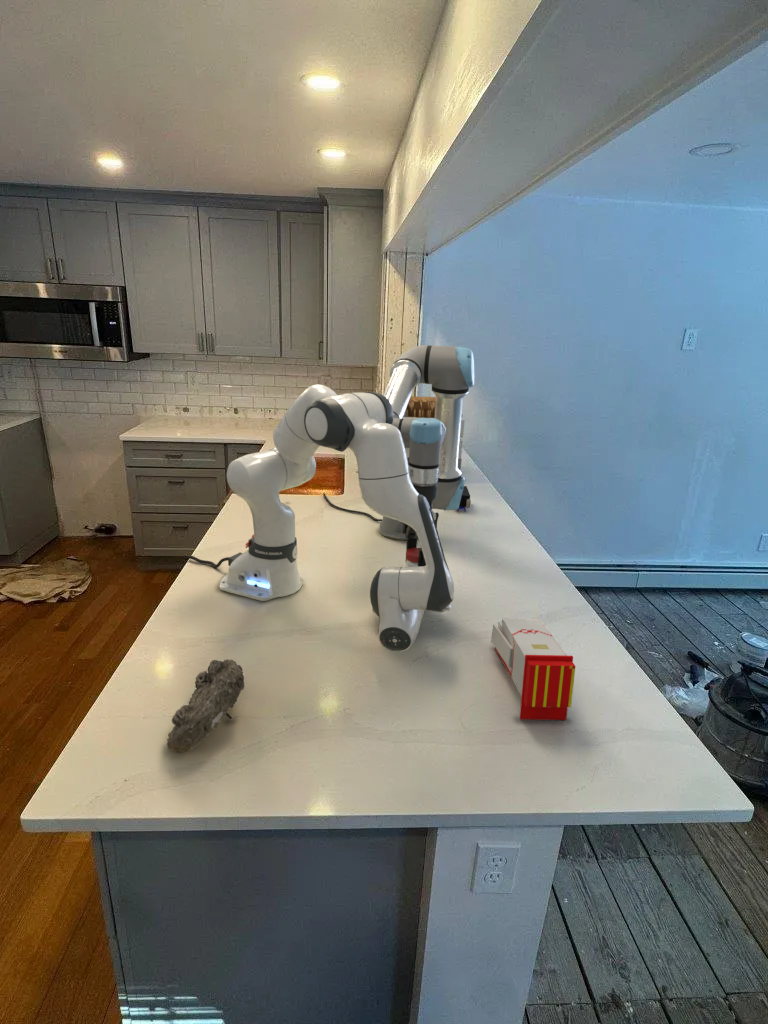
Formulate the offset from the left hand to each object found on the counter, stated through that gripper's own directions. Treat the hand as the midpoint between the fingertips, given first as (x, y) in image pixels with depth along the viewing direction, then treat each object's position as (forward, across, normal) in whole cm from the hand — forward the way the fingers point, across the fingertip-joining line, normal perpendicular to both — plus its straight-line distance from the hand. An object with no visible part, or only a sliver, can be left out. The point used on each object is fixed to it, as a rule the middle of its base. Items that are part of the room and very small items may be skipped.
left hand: (415, 581), depth 151 cm
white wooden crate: (+129, +18, +7) cm, 130 cm away
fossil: (-55, +30, +7) cm, 63 cm away
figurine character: (+84, -5, +7) cm, 84 cm away
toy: (-26, -28, +7) cm, 39 cm away
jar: (-1, 0, +7) cm, 7 cm away
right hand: (-1, 0, -5) cm, 5 cm away
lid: (-1, 0, -8) cm, 9 cm away
